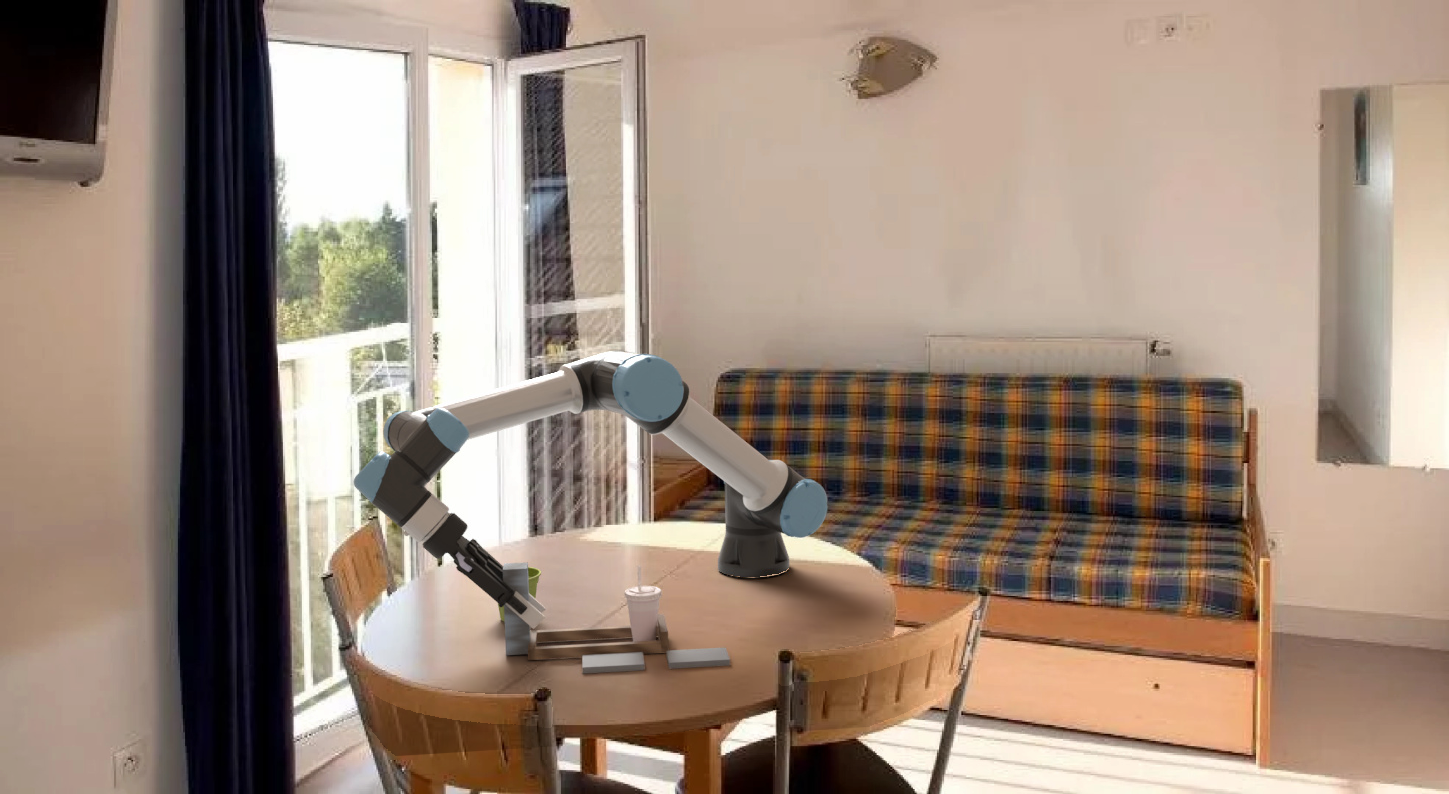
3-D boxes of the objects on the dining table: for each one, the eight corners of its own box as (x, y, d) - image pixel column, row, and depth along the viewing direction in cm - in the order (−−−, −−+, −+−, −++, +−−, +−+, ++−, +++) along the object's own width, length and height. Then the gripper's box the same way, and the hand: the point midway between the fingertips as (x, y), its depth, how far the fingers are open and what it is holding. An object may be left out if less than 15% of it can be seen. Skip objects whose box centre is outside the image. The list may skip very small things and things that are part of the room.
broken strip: (725, 653, 206) (725, 647, 206) (730, 665, 200) (729, 659, 200) (582, 660, 204) (582, 655, 204) (582, 673, 198) (582, 667, 198)
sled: (664, 633, 216) (662, 551, 214) (668, 652, 206) (666, 567, 204) (508, 641, 213) (505, 558, 211) (504, 661, 203) (501, 574, 201)
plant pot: (519, 629, 220) (517, 583, 219) (480, 621, 225) (478, 576, 224) (553, 615, 228) (551, 570, 227) (514, 608, 233) (513, 564, 232)
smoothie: (627, 639, 214) (625, 561, 212) (664, 639, 214) (662, 561, 212) (623, 651, 208) (621, 571, 206) (661, 651, 208) (659, 571, 206)
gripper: (426, 531, 212) (526, 618, 216) (413, 557, 196) (522, 651, 200) (456, 500, 212) (555, 588, 216) (445, 523, 195) (553, 617, 200)
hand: (539, 618), depth 208 cm, fingers closed on sled, 4 cm apart
